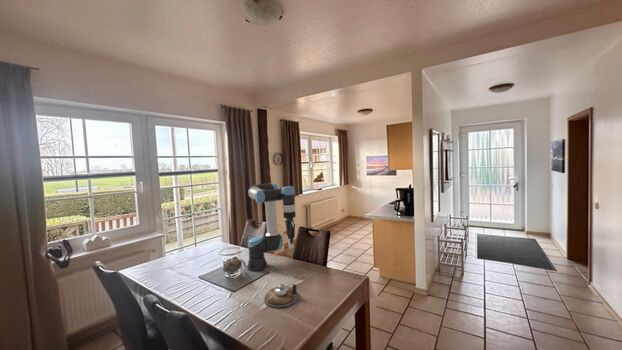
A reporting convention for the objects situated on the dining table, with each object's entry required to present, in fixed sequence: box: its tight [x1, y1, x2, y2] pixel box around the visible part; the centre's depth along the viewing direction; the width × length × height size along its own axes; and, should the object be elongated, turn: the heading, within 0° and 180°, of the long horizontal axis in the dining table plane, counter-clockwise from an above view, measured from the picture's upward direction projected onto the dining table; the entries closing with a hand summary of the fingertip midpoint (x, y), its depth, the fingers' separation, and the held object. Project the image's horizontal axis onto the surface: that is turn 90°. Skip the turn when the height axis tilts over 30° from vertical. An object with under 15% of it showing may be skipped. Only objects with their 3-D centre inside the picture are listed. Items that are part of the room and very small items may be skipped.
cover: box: [274, 283, 289, 297], centre depth 148 cm, size 8×8×5 cm
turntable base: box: [263, 292, 299, 309], centre depth 148 cm, size 20×20×1 cm
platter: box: [265, 283, 298, 305], centre depth 147 cm, size 18×18×6 cm
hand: (291, 248), depth 157 cm, fingers closed
